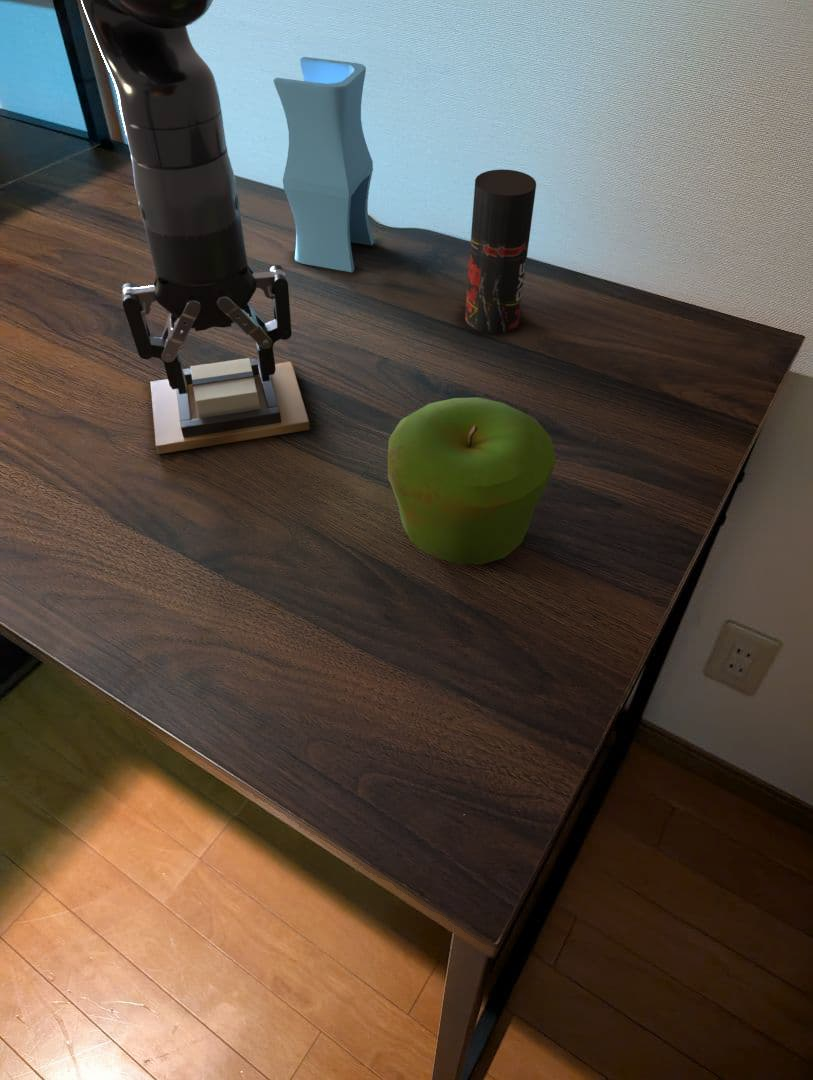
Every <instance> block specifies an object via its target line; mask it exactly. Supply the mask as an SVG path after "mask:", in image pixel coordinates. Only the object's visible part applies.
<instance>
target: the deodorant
mask: <svg viewBox="0 0 813 1080" xmlns="http://www.w3.org/2000/svg"><path fill="white" fill-rule="evenodd" d="M536 189H537V181H536V179H535V178H534V177H532V176H531V175H529V174H527V173H525V172H522V171H518V170H515V169H514V170H513V169H492V170H491V169H490V170H486V171H484V172H482V173H480V174H478V175H477V176H476V177H475V179H474V189H473V191H474V192H473V203H472V204H473V206H472V218H471V232H470V245H469V261H468V271H467V272H468V274H467V287H466V299H465V300H466V301H465V312H464V313H465V314H464V318H465V319H464V321H465V322H466V324H467V325H468V326H469V327H470V328H472V329H473V330H476V331H479V332H481V333H486V334H502V333H507V332H510V331H512V330H513V329H515V328H516V327H517V326H518V324H519V321H520V312H521V306H522V299H523V291H524V282H525V277H526V276H525V275H526V267H527V262H528V261H527V259H528V252H529V244H530V237H531V228H532V222H533V214H534V207H535V199H536V191H537V190H536Z"/></svg>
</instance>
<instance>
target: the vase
mask: <svg viewBox="0 0 813 1080" xmlns="http://www.w3.org/2000/svg"><path fill="white" fill-rule="evenodd" d="M299 62H300V67H301V73H302V77H303V80H299V79H292V78H291V79H290V78H282V77H275V78H274V79H273V84H274V87H275V89H276V92H277V95H278V97H279V100H280V102H281V105H282V109H283V112H284V115H285V119H286V125H287V130H288V147H287V157H286V164H285V167H284V171H283V177H282V186H283V191H284V193H285V195H286V198H287V201H288V203H289V206H290V209H291V212H292V217H293V220H294V225H295V252H294V260H295V262H297V263H299V264H302V265H308V266H314V267H317V268H325V269H330V270H336V271H341V272H348V273H353V272H354V271H355V263H354V259H353V252H352V245H351V243H354V244H360V245H365V246H374V244H375V240H374V236H373V233H372V229H371V224H370V220H369V209H368V207H369V195H370V194H369V193H370V186H371V181H372V177H373V176H372V175H373V171H374V161H373V159H372V156H371V153H370V151H369V148H368V145H367V142H366V138H365V134H364V130H363V124H362V123H363V122H362V101H363V91H364V84H365V78H366V71H367V67H366V66H365V65H364V64H362V63H357V62H351V61H343V60H334V59H326V58H317V57H309V56H302V57H301V58H300V59H299Z"/></svg>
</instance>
